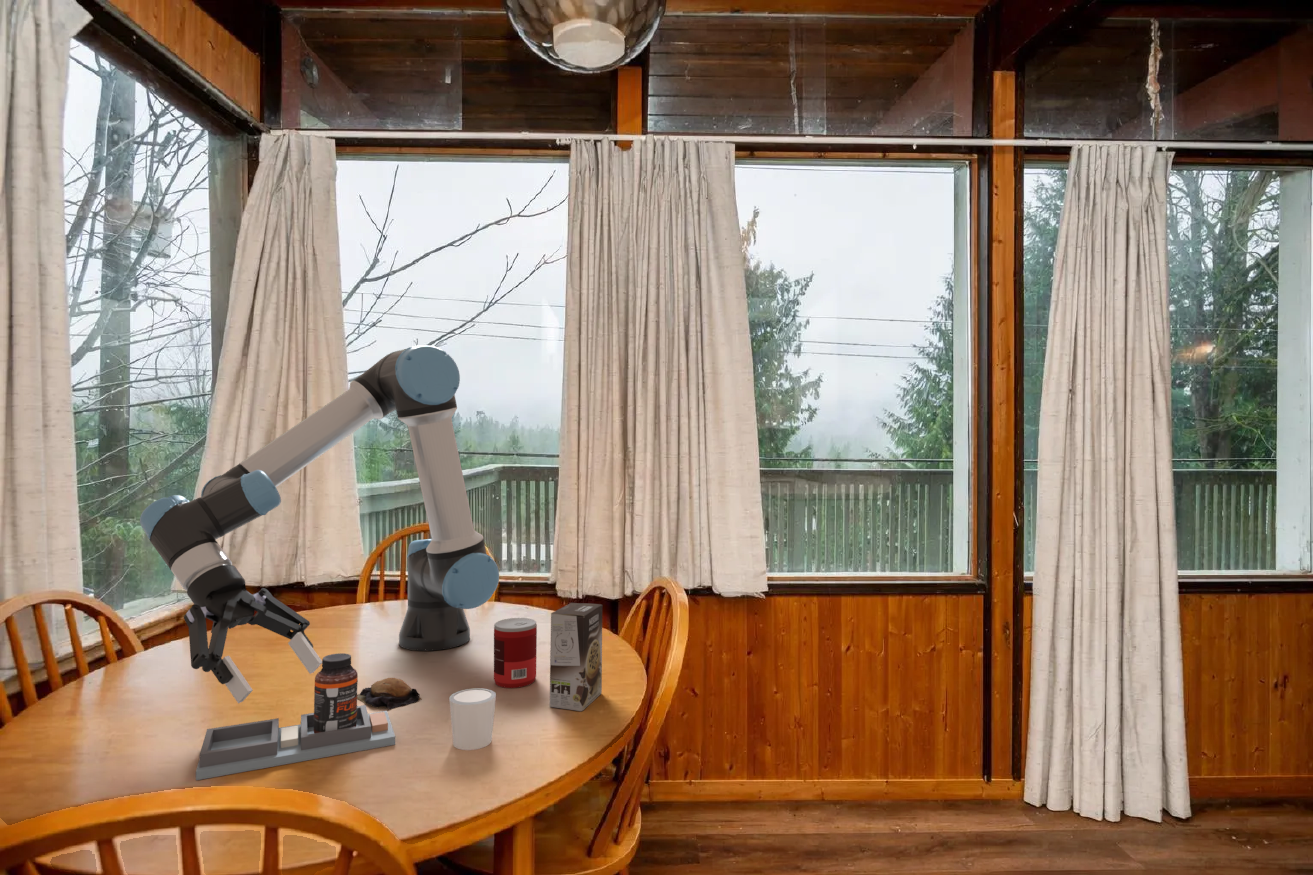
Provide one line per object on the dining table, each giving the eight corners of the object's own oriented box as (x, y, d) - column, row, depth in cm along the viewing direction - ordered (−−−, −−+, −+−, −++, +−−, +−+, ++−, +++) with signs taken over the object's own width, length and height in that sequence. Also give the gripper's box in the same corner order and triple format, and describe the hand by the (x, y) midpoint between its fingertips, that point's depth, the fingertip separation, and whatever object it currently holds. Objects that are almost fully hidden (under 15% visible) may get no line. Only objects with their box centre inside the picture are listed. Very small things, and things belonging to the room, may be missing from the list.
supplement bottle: (340, 742, 103) (341, 664, 103) (304, 738, 104) (305, 661, 104) (365, 725, 109) (366, 652, 109) (330, 722, 110) (331, 649, 110)
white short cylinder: (453, 755, 102) (454, 706, 102) (444, 737, 108) (444, 691, 108) (501, 746, 105) (501, 699, 105) (489, 729, 111) (489, 684, 111)
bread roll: (350, 701, 124) (350, 680, 124) (395, 687, 131) (395, 667, 131) (382, 716, 117) (382, 694, 117) (427, 701, 124) (427, 680, 124)
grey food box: (583, 712, 118) (584, 615, 118) (548, 707, 120) (549, 612, 120) (603, 693, 127) (604, 603, 127) (570, 689, 129) (570, 600, 129)
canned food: (544, 677, 135) (544, 620, 135) (519, 691, 128) (519, 630, 128) (511, 671, 138) (511, 615, 138) (485, 684, 131) (485, 625, 131)
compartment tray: (386, 717, 115) (386, 699, 115) (395, 744, 105) (395, 724, 105) (205, 747, 104) (205, 727, 104) (195, 780, 94) (195, 757, 94)
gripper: (261, 578, 127) (328, 671, 122) (118, 611, 103) (195, 727, 99) (285, 550, 125) (354, 643, 121) (145, 577, 102) (225, 694, 97)
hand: (283, 681), depth 110 cm, fingers open, 13 cm apart
